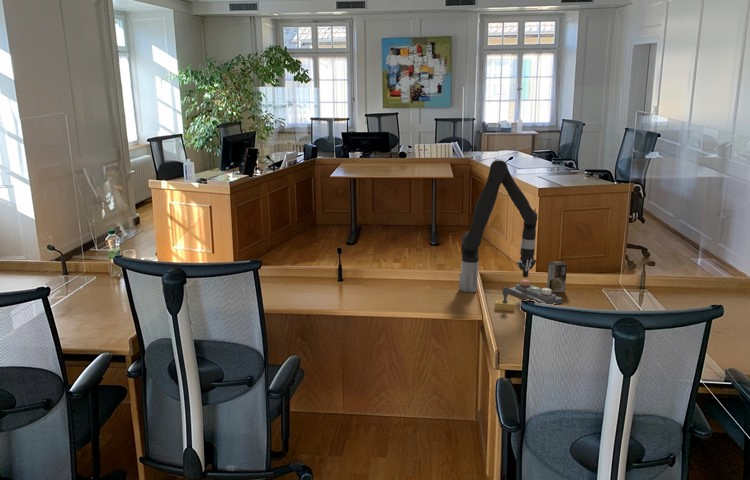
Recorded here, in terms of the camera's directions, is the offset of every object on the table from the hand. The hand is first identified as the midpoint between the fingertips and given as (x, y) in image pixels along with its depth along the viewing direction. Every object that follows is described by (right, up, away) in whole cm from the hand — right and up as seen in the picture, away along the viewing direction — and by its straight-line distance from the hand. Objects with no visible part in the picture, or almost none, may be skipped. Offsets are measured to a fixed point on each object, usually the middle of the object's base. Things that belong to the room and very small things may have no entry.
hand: (525, 277), depth 341 cm
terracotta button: (0, -5, +2) cm, 5 cm away
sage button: (+4, -8, -4) cm, 10 cm away
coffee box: (+19, -8, +8) cm, 22 cm away
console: (+4, -11, -4) cm, 12 cm away
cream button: (+8, -8, -12) cm, 17 cm away
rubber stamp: (-16, -15, -21) cm, 30 cm away
